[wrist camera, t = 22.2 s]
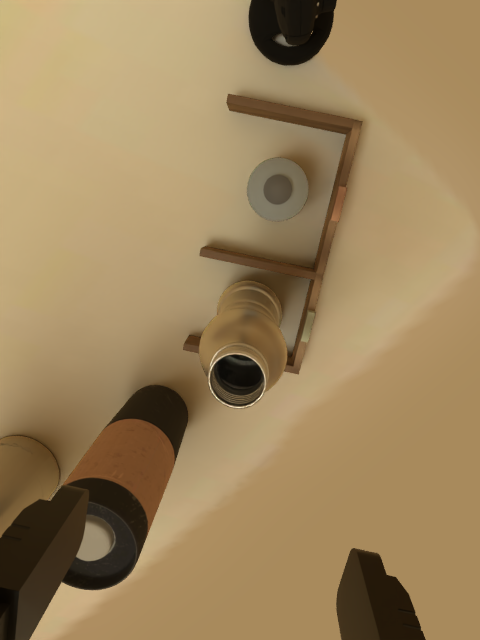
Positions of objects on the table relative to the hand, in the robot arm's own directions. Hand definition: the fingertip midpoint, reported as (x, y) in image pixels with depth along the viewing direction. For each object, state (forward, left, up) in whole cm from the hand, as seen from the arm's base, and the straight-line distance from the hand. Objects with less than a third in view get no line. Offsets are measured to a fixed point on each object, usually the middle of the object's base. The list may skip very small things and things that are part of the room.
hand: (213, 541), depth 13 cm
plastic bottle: (0, 0, -33) cm, 33 cm away
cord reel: (+12, 0, -33) cm, 35 cm away
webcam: (+27, +2, -33) cm, 43 cm away
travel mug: (-14, +8, -33) cm, 37 cm away
